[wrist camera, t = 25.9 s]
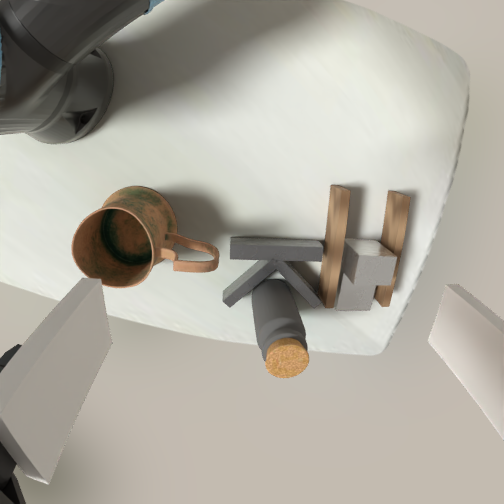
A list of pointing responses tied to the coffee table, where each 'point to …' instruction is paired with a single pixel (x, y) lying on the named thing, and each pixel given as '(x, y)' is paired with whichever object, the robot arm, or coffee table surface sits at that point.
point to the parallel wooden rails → (336, 237)
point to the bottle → (279, 329)
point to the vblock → (272, 264)
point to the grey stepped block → (362, 273)
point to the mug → (133, 239)
